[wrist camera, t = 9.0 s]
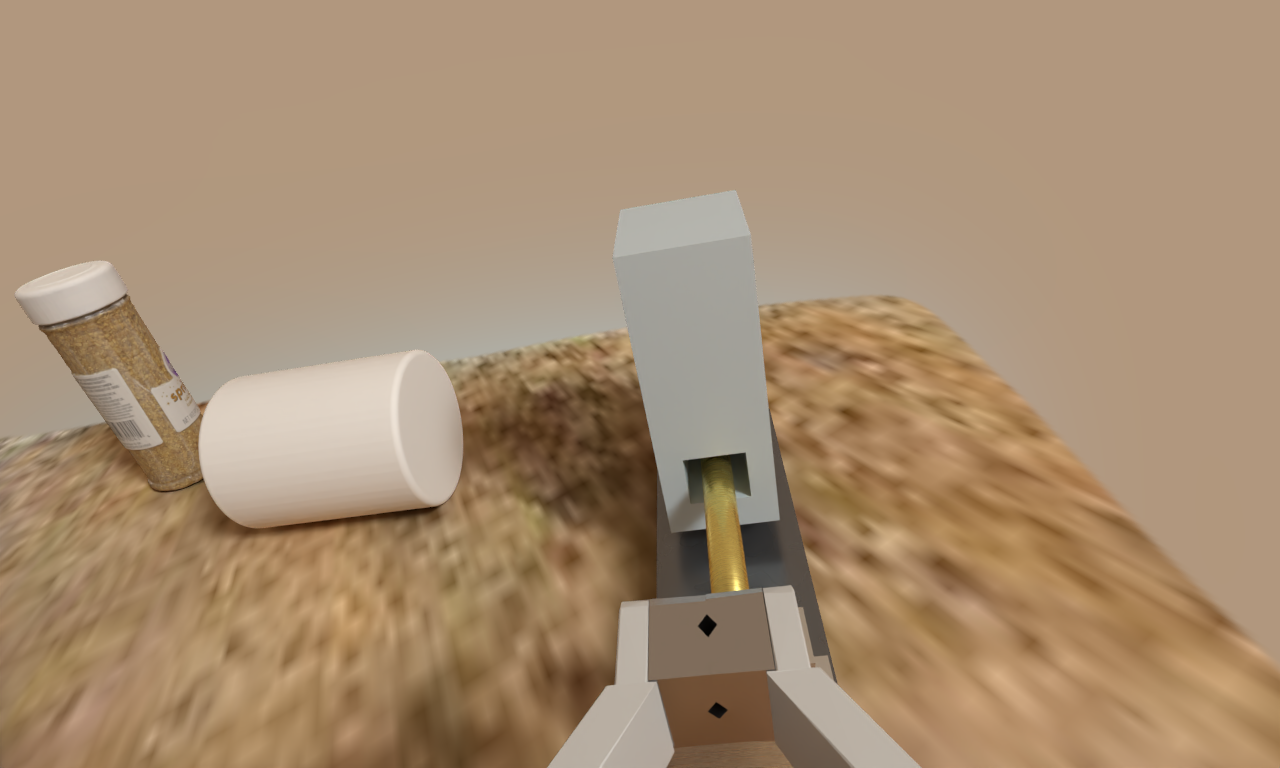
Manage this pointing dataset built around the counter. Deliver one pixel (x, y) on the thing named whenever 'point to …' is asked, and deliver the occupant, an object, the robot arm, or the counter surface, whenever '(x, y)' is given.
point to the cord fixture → (739, 582)
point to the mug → (333, 441)
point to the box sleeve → (698, 350)
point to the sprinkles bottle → (119, 368)
